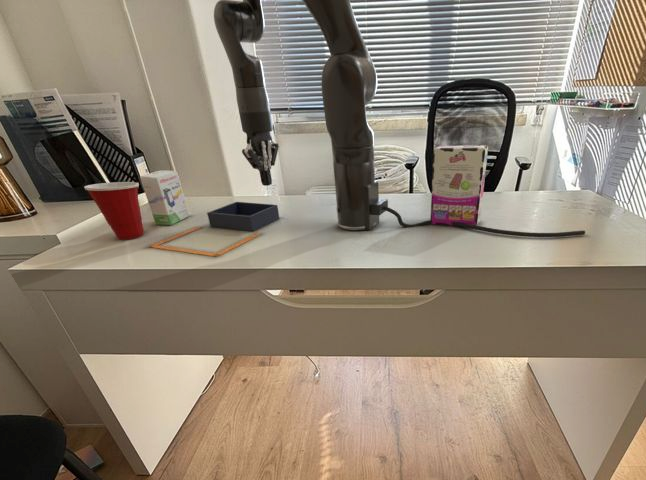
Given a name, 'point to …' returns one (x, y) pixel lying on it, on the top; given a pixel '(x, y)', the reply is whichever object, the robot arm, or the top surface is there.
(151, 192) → the ink box
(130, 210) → the plastic cup
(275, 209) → the dark blue tray
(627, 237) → the top surface
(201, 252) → the tape marks
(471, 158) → the candy bar box
